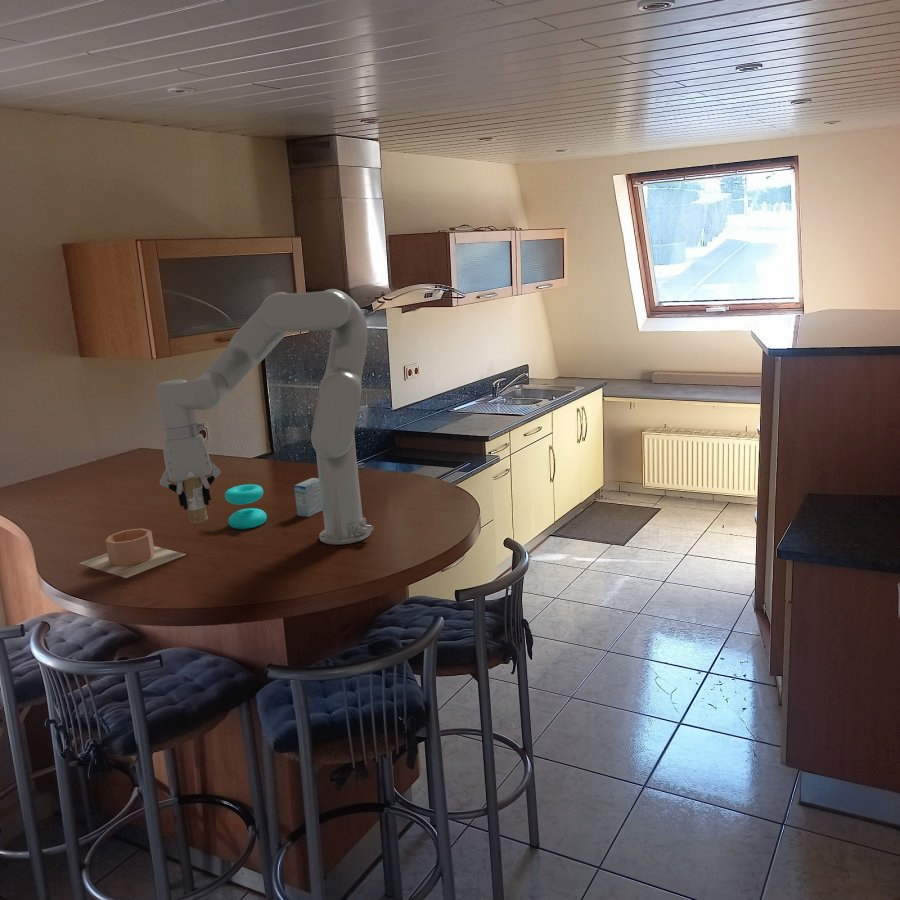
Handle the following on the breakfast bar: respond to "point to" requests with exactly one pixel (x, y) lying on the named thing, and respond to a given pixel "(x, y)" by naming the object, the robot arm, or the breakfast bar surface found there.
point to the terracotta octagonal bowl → (130, 547)
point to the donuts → (245, 516)
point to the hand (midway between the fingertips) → (196, 505)
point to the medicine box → (308, 497)
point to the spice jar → (195, 499)
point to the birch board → (127, 571)
